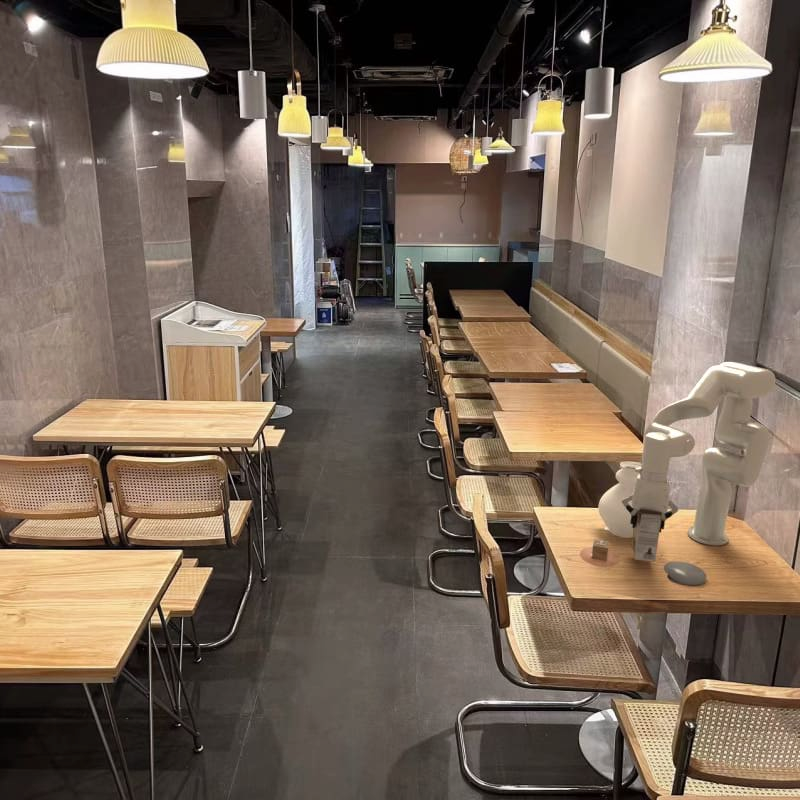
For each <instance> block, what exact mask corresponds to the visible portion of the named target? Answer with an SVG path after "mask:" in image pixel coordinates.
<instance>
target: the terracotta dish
mask: <svg viewBox="0 0 800 800" xmlns="http://www.w3.org/2000/svg"><path fill="white" fill-rule="evenodd" d="M592 550H593V546H588V547H584V548H583V549H581V550H580V551H579V556H580V557H581V559H582V560H584V561H585V562H587V563H588V564H591V565H594V566H598V567H614V566H616V565H618V564H619V563H620V557H619V555H618V554H617V553H615V552H614V551H612V550H609V549H608V554H607V561H603V560H598V559H593V558H592Z"/></svg>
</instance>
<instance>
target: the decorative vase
mask: <svg viewBox="0 0 800 800" xmlns="http://www.w3.org/2000/svg"><path fill="white" fill-rule="evenodd" d="M619 464H620V465H619V468H620V469H619V470H618V471H617V472H616V473H615V479H616V480H617V481H618V483H617V484H615V485H613V486H612V487H610V488H609V489H608V490H607V491H606V492H605V493H603V495H602V496H601V498H600V500H599V503H598V509H597V510H598V513H599V516H600V518H601V519H602V521H603V523H604V524H605V525H606V526H604V528H603V530H607V531H609V532H610V533H611V534H612V535H614V536H617V537H620V538H625V539H629V538H632V537H633V529H634V528H632V526H633V524H630V522H631V514H630V513H629V511H628V510H627V509H626V507H625V506H624V505H623V503H622V499H624V498H626V497H627V496H629V495H631V494H633V491H634V486H635V482H636V479H637V477H638V475H639V473H637V472H635V470H636V468H640V467H641V463H639V462H635V461H622V462H620V463H619ZM628 503H629V504H630V505H631V507H632V500H631V501H629V502H628ZM632 508H633V507H632Z"/></svg>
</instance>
